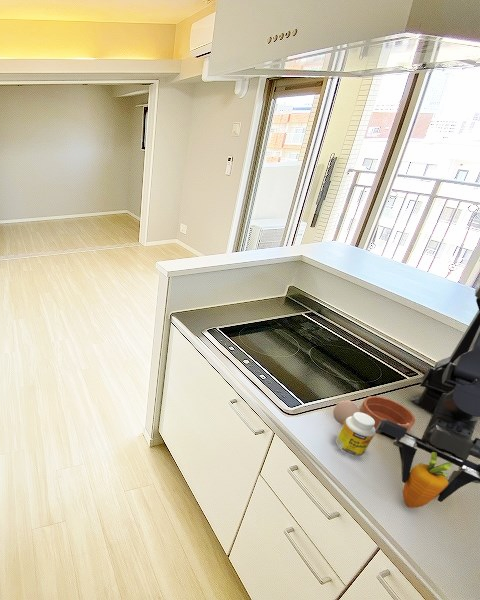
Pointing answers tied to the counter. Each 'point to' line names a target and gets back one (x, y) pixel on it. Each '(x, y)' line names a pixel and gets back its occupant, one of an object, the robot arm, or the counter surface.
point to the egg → (344, 411)
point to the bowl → (387, 412)
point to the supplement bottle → (356, 434)
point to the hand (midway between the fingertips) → (420, 491)
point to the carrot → (425, 483)
